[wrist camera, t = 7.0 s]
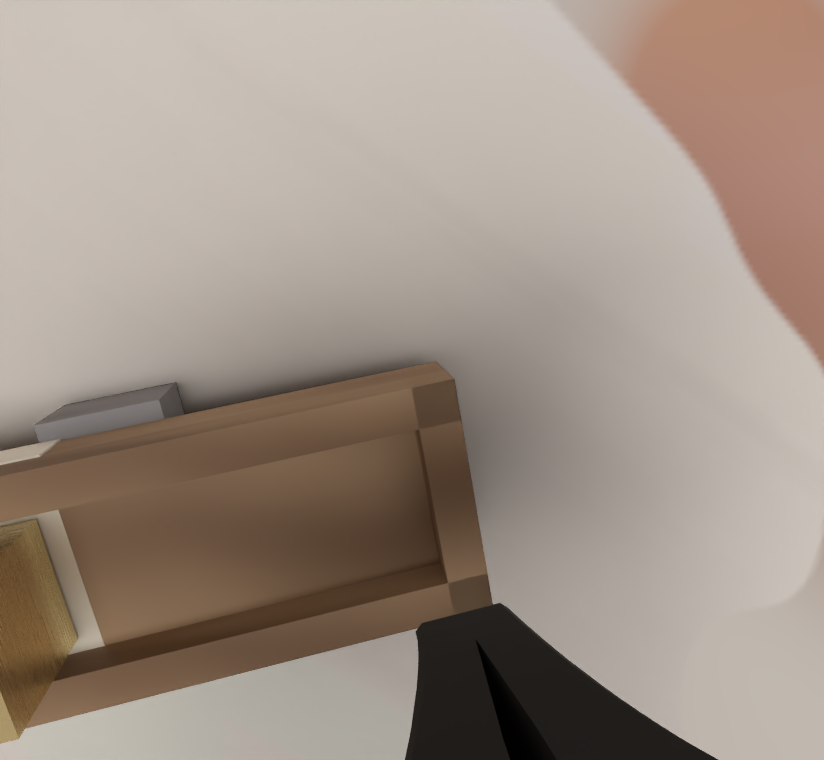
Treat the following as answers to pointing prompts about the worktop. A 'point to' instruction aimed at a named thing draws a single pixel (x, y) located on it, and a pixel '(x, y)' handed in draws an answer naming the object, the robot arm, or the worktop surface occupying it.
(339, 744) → the worktop surface
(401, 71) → the worktop surface
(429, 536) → the beam
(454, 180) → the worktop surface
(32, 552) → the tan wooden block
